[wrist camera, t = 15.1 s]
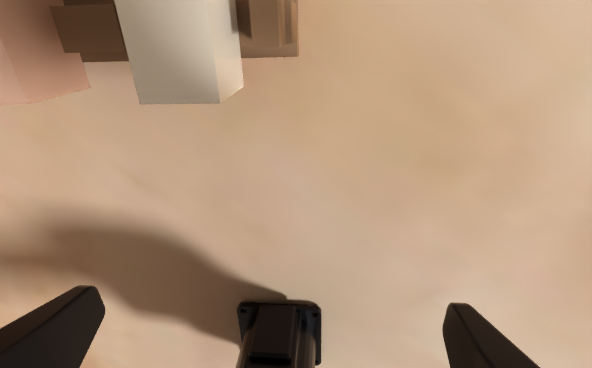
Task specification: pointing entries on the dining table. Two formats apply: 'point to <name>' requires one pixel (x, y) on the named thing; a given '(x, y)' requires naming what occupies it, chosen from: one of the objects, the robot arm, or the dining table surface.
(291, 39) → the rack
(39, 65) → the clay strip
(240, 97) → the dining table surface
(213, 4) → the strip
